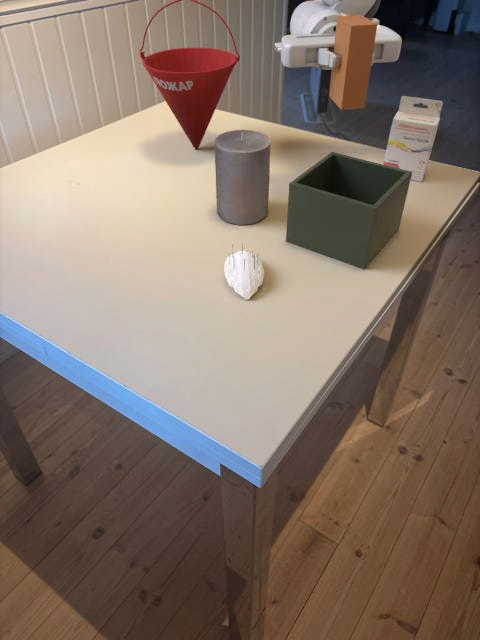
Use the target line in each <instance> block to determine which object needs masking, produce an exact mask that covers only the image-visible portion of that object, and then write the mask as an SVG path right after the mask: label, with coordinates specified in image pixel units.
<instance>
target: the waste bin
mask: <svg viewBox="0 0 480 640" xmlns="http://www.w3.org/2000/svg"><path fill="white" fill-rule="evenodd" d="M411 176H412V172H410V171H406V170H402V169H398V168H394V167H391V166H387V165H384V163H383V164H382V163H379V162H374V161H370V160H368V159H367V160H366V159H362V158H359V157H354V156H351V155H347V154H342V153H339V152H335V151H331V152H330V153H328V154H327V155H326V156H324V157H322V158H321V159H320V160H319V161H317V162H316V163H315V164H313V165H311V167H309V168H308V169H307V170H305V171H304V172H303V173H301V174H299V175H298V176H297V177H296V178H294V179H293V180H292V181H290V182H289V183H288V202H287V214H286V215H287V217H286V218H287V219H286V233H285V242H287V243H289V244H292V245H295V246H298V247H300V248H303V249H306V250H309V251H311V252H315V253H318V254H320V255H322V256H326V257H329V258H331V259H333V260H336V261H340V262H342V263H345V264H348V265H350V266H354V267H356V268H359V269H362V270H365V269H367V267H368V266H369V264H370V263H371V262H372V261H373V260H374V259H375V258H376V256H377V255H379V253H380V252H381V250H383V248H384V247H385V246H386V245H387V244H388V243H389V241H390V240H391V239H392V238H393V237H394V236H395V235H396V233H398V231H399V229H400V226H401V222H402V219H403V213H404V209H405V205H406V202H407V197H408V192H409V189H410V184H411V181H412V180H411Z"/></svg>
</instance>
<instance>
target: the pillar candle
mask: <svg viewBox="0 0 480 640" xmlns="http://www.w3.org/2000/svg"><path fill="white" fill-rule="evenodd" d="M271 144H272V139H271V137H269V136H268V135H267V134H265V133H263V132H260V131H258V130H252V129H251V130H250V129H237V130H236V129H234V130H229V131H225V132H222V133H220V134H218V135H217V136H216V137H215V139H214V163H215V164H214V166H215V195H216V214H217V216H218V217H219V219H220V220H222V221H224V222H226V223H228V224H231V225H237V226H238V225H239V226H240V225H241V226H243V225H246V226H247V225H253V224H256V223H258V222H259V221H262V220H263V219H264V218H266V217H267V216H268V213H269V198H270V196H269V195H270V173H271V171H270V170H271V169H270V168H271V167H270V165H271V164H270V163H271Z"/></svg>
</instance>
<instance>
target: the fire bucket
mask: <svg viewBox="0 0 480 640" xmlns="http://www.w3.org/2000/svg"><path fill="white" fill-rule="evenodd" d="M182 1H183V0H174V1H171V2H169V3H167V4H165V5H163V6H162V7H160V9H158V10H157V11H156V12H155V13H154V14H153V16H152V17H151V18H150V20H149V21H148V23H147V26H146V28H145V31H144V33H143V39H142V44H141V45H142V46H141V48H140V50H139V56H140V58H141V60H142V62H141V64H142V65H143V67H144V68H145V70H146V71H147V73H148V75H149V76H150V79H152V81H153V83H154V84H155V86H156V88H157V90H158V91H159V93H160V95H161V96H162V97H163V100H164V101H165V102H166V104H167V106H168V108H169V109H170V111H171V112H172V114H173V116H174V117H175V119H176V121H177V122H178V124H179V126H180V127H181V129H182V131H183V132H184V134H185V135H186V137H187V139H188V141H189V142H190V144H191V145H192V147H193V148H194V149H195V150H198V149H199V147H200V145H201V143H202V142H203V139H204V136H205V134H206V132H207V130H208V128H209V125H210V123H211V120H212V118H213V116H214V113H215V111H216V109H217V107H218V105H219V103H220V100H221V97H222V95H223V93H224V90H225V88H226V86H227V84H228V81H229V79H230V77H231V74H232V72H233V70H234V68H235V66H236V64H237V63H238V62H240V60H241V56H240V53H239V52H238V49H237V45H236V41H235V39H234V35H233V33H232V31H231V29H230V27H229V26H228V24H227V22H226V20H224V18H223V17H222V16H221V15H220V14H219V13H218V12H217V11H216V10H214V9H213V8H212V7H210V6H209V5H207V4H205V3H203V2H200V1H198V0H190V1H191V2H194V3H196V4H198V5H200V6H203V7H205V8H206V9H208V10H209V11H211V12H212V13H214V14H216V16H217V17H218V18H219V19H220V20H221V21H222V22H223V24H224V25H225V27H226V29H227V31H228V32H229V34H230V38H231V40H232V43H233V46H234V50H235V53H236V55H237V56H236V55H235V54H234V53H232V52H231V51H227V50H223V49H219V48H212V47H198V46H197V47H194V46H193V47H179V48H170V49H165V50H161V51H157V52H153V53H150V54H148V55H146V56H145V53H146V51H143V50H144V47H145V41H146V36H147V33H148V30H149V27H150V25H151V23H152V22H153V20H154V18H155V17H156V16H157V15H158V14H159V13H160V12H162V11H163V10H164V9H165V8H167V7H169V6H171V5H174V4H177V3H179V2H182Z"/></svg>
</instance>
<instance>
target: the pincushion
mask: <svg viewBox="0 0 480 640" xmlns="http://www.w3.org/2000/svg"><path fill="white" fill-rule="evenodd" d="M243 245H244V243H242V244H241V249H242V250H238V251H236V252H235V253H232V254H229V255H228V256H227V257H226V259H225V262H224V265H223V267H224V273H223V274H224V277H225V278H226V282H227V284H228V286H229V287H231V288H233V289H234V291H235V293H237V294H238V295H240V296H241V298H243V299H244V300H250V298H251V297H252V296H253V295H254V294H255V293H256V292H258V290H259V287H261V285H262V286H263V280H264V276H265V269H264V264H263V261H262V260H261V259H260V257H259V255H258V254H255V253H253V252H248V251H246V250H243V249H244V246H243ZM232 248H234V244H233V243H232Z"/></svg>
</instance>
